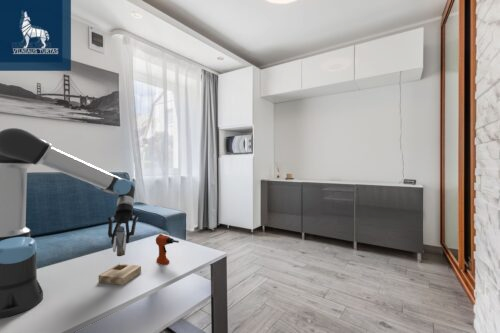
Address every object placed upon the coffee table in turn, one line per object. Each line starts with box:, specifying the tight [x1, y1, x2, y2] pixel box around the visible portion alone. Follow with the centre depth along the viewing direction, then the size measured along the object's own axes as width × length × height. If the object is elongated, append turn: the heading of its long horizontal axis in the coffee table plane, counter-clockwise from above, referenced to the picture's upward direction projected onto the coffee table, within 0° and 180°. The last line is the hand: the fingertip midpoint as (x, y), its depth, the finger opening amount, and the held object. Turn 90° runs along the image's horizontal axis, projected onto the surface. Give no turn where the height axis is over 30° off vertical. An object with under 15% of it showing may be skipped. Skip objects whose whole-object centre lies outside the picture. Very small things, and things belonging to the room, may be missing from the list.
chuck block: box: [98, 263, 142, 286], centre depth 107 cm, size 12×12×3 cm
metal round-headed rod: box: [116, 225, 126, 257], centre depth 110 cm, size 3×3×14 cm
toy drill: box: [155, 233, 180, 266], centre depth 120 cm, size 5×19×15 cm, turn 53°
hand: (119, 249), depth 107 cm, fingers closed on metal round-headed rod, 3 cm apart
